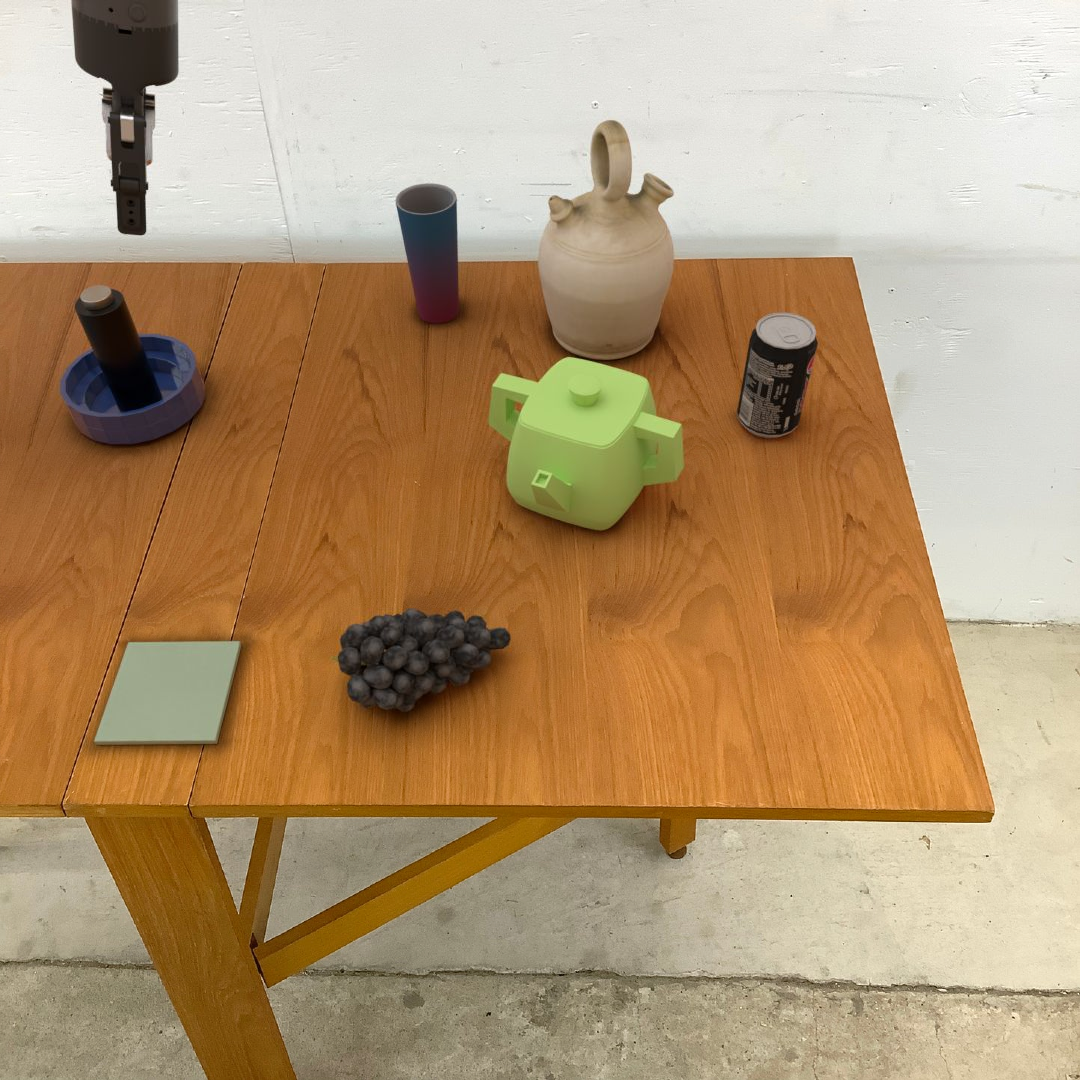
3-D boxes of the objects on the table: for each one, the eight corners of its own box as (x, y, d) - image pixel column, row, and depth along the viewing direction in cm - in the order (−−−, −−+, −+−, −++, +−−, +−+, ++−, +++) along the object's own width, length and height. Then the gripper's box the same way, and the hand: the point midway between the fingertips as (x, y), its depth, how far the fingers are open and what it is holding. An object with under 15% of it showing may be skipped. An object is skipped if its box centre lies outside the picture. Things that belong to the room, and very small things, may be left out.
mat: (96, 745, 81) (93, 741, 80) (130, 645, 87) (127, 641, 87) (217, 744, 80) (215, 740, 80) (242, 644, 87) (240, 640, 87)
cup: (447, 289, 124) (435, 177, 112) (477, 314, 120) (468, 201, 109) (400, 308, 121) (384, 195, 110) (429, 335, 117) (415, 221, 106)
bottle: (112, 415, 107) (63, 307, 97) (124, 387, 111) (79, 280, 100) (155, 415, 107) (112, 306, 97) (167, 386, 111) (126, 279, 100)
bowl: (57, 449, 105) (40, 417, 101) (97, 366, 114) (83, 334, 111) (189, 447, 105) (177, 415, 101) (219, 364, 114) (208, 332, 111)
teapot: (634, 592, 90) (643, 493, 81) (444, 528, 96) (430, 427, 86) (699, 466, 101) (713, 365, 92) (524, 414, 107) (521, 314, 98)
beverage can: (783, 397, 108) (803, 305, 100) (808, 436, 104) (831, 343, 95) (726, 407, 108) (741, 315, 99) (750, 447, 103) (767, 355, 94)
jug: (662, 291, 122) (681, 89, 104) (671, 369, 112) (693, 160, 93) (540, 291, 123) (536, 90, 104) (537, 369, 112) (533, 161, 94)
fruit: (501, 568, 81) (318, 612, 77) (530, 661, 78) (341, 711, 74) (495, 605, 88) (328, 646, 85) (520, 691, 85) (349, 737, 82)
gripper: (76, -27, 78) (89, 173, 88) (65, 25, 68) (80, 244, 78) (176, -10, 81) (177, 182, 91) (180, 43, 71) (180, 252, 81)
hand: (133, 211), depth 85 cm, fingers open, 8 cm apart
